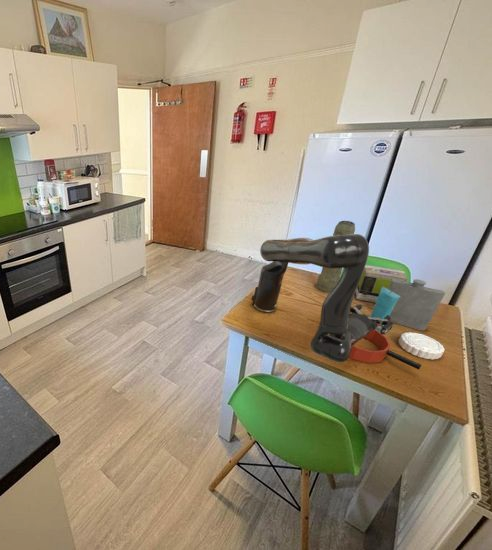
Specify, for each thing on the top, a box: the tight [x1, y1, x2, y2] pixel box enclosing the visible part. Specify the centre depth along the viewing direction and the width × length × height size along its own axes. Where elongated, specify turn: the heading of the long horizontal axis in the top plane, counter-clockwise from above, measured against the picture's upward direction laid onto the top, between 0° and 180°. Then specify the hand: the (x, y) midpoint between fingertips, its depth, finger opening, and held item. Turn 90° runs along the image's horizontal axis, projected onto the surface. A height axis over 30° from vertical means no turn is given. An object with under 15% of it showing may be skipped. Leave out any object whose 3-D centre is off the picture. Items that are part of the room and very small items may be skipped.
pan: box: [328, 330, 422, 370], centre depth 108 cm, size 26×17×5 cm, turn 34°
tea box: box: [355, 264, 409, 304], centre depth 138 cm, size 15×10×15 cm, turn 59°
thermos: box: [315, 220, 356, 294], centre depth 143 cm, size 9×12×35 cm
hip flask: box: [388, 278, 446, 331], centre depth 120 cm, size 16×4×20 cm, turn 45°
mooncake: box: [398, 331, 446, 360], centre depth 110 cm, size 12×12×4 cm
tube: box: [370, 286, 400, 332], centre depth 116 cm, size 7×5×19 cm, turn 12°
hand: (373, 312), depth 109 cm, fingers open, 8 cm apart
